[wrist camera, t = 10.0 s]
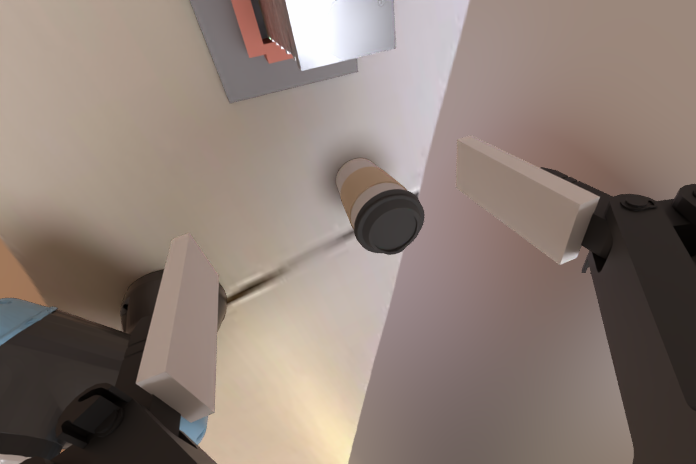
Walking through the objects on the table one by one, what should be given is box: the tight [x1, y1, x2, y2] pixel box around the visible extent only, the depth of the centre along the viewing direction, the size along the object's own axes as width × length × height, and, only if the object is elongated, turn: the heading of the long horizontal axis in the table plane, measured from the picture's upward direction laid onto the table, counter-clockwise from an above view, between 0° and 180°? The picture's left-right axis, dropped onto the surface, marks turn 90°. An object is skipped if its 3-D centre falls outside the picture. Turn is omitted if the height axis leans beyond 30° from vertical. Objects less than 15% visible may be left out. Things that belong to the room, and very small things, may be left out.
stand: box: [190, 0, 358, 103], centre depth 29 cm, size 16×16×7 cm
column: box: [258, 0, 396, 71], centre depth 19 cm, size 4×4×19 cm
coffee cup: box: [336, 158, 424, 255], centre depth 42 cm, size 9×9×15 cm
